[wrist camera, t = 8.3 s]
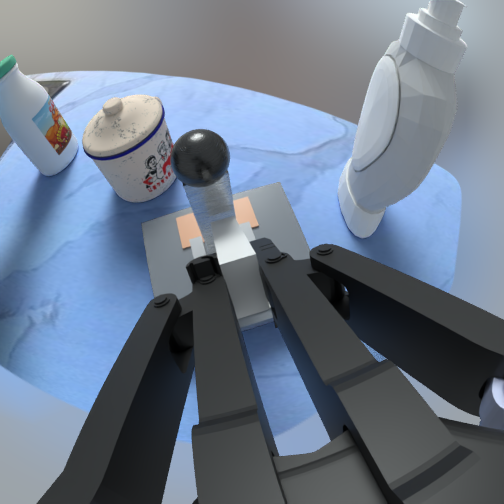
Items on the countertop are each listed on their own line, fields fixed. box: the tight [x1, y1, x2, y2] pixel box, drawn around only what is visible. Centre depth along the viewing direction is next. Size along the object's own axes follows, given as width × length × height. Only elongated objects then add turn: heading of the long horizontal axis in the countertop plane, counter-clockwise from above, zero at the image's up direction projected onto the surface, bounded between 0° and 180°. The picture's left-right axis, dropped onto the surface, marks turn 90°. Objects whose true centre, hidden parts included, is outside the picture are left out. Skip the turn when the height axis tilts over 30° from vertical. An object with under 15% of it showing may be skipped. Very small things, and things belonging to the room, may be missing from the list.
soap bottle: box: [338, 0, 467, 238], centre depth 18 cm, size 13×8×24 cm, turn 173°
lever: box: [170, 129, 236, 254], centre depth 18 cm, size 3×3×13 cm
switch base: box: [141, 182, 310, 332], centre depth 24 cm, size 12×14×5 cm
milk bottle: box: [0, 55, 78, 176], centre depth 24 cm, size 8×8×20 cm
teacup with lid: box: [82, 95, 176, 202], centre depth 26 cm, size 12×9×12 cm
